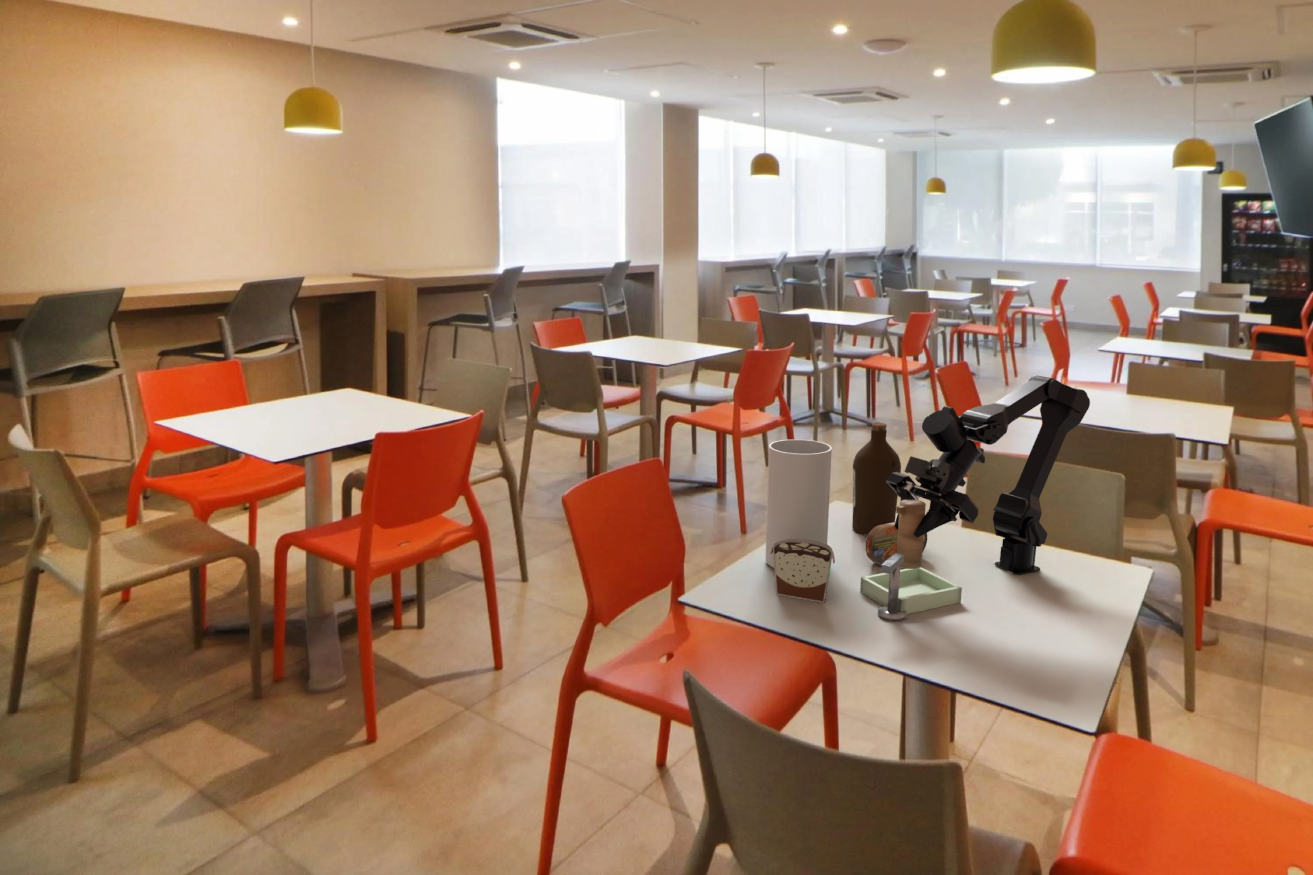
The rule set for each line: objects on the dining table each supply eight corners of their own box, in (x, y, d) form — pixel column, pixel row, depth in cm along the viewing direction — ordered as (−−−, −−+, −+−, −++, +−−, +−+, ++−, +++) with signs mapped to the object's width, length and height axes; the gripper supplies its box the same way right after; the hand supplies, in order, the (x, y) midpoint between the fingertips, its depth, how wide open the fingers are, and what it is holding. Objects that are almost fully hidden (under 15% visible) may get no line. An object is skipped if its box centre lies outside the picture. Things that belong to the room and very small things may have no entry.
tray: (918, 580, 188) (919, 566, 187) (960, 602, 177) (961, 587, 176) (860, 591, 182) (861, 577, 181) (900, 615, 171) (901, 599, 171)
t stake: (883, 607, 175) (887, 550, 172) (910, 614, 172) (914, 555, 169) (868, 622, 168) (872, 562, 166) (895, 628, 166) (899, 568, 163)
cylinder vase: (836, 571, 193) (842, 451, 187) (780, 577, 189) (784, 456, 183) (810, 550, 204) (814, 437, 198) (756, 556, 201) (759, 441, 195)
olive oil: (901, 526, 220) (908, 421, 214) (890, 540, 211) (897, 431, 205) (856, 520, 225) (862, 417, 219) (843, 533, 215) (849, 425, 210)
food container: (840, 592, 182) (842, 543, 179) (832, 604, 176) (834, 553, 174) (778, 582, 187) (780, 533, 184) (768, 593, 181) (770, 543, 179)
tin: (871, 569, 194) (874, 529, 192) (861, 564, 197) (863, 525, 195) (927, 557, 201) (930, 519, 199) (916, 552, 203) (919, 515, 201)
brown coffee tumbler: (908, 558, 180) (912, 498, 178) (926, 565, 176) (931, 504, 174) (886, 563, 177) (889, 502, 175) (903, 571, 174) (907, 509, 171)
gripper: (896, 430, 182) (849, 494, 179) (972, 451, 166) (922, 521, 163) (923, 465, 187) (878, 527, 184) (999, 488, 172) (951, 556, 169)
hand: (905, 532), depth 175 cm, fingers closed on brown coffee tumbler, 5 cm apart
